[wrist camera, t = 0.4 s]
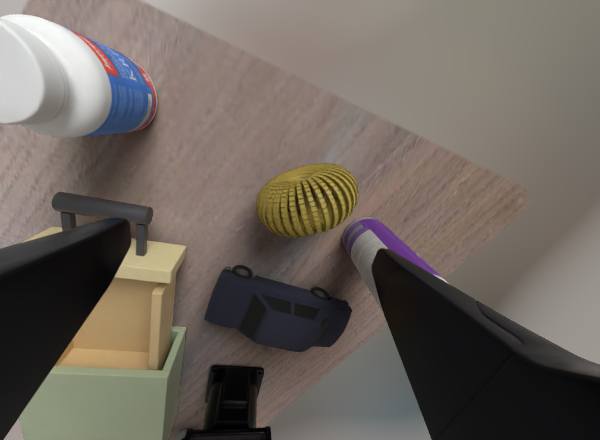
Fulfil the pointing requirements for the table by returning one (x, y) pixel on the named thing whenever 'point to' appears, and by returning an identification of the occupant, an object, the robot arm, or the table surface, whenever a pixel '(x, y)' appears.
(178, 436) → the rubber ball
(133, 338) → the drawer
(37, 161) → the table surface
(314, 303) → the toy car
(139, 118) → the pill bottle
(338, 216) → the sculpture
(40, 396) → the cabinet
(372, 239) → the container
